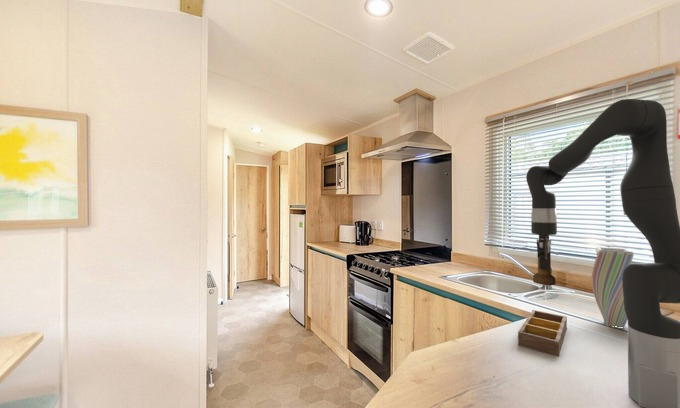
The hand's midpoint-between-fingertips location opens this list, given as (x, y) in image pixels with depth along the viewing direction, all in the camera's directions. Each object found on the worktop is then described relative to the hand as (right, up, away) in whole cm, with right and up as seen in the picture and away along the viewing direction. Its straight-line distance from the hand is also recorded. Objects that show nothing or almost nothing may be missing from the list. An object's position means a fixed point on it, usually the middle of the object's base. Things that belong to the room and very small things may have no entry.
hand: (544, 268), depth 105 cm
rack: (0, -25, 0) cm, 25 cm away
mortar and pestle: (0, -5, 0) cm, 5 cm away
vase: (+34, -25, +9) cm, 43 cm away
